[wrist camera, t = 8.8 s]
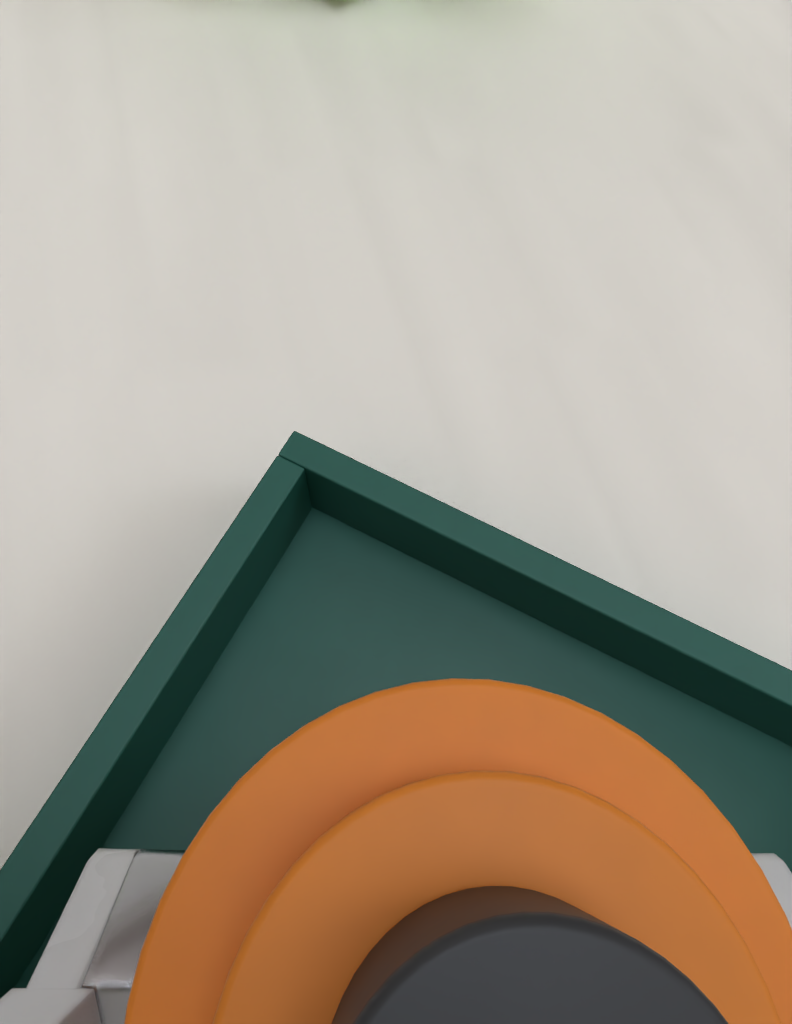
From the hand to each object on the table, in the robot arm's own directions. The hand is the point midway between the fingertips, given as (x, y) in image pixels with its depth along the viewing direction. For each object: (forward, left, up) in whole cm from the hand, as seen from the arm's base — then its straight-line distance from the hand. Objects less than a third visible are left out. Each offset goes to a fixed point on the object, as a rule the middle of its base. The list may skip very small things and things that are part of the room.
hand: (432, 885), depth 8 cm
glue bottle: (-1, 0, -6) cm, 6 cm away
